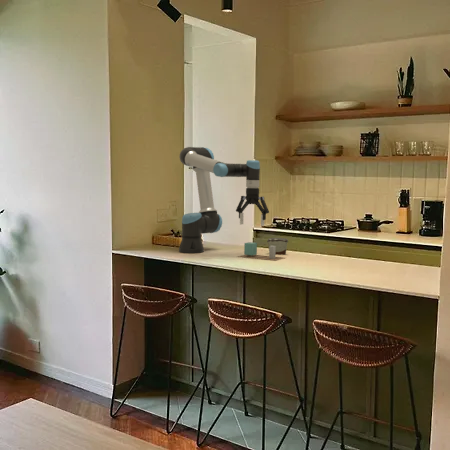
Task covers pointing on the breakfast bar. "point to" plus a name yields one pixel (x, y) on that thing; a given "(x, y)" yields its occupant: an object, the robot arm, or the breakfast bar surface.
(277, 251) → the food container
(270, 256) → the post
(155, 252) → the breakfast bar surface
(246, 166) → the robot arm
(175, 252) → the breakfast bar surface
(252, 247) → the teal rectangular block
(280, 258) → the board
